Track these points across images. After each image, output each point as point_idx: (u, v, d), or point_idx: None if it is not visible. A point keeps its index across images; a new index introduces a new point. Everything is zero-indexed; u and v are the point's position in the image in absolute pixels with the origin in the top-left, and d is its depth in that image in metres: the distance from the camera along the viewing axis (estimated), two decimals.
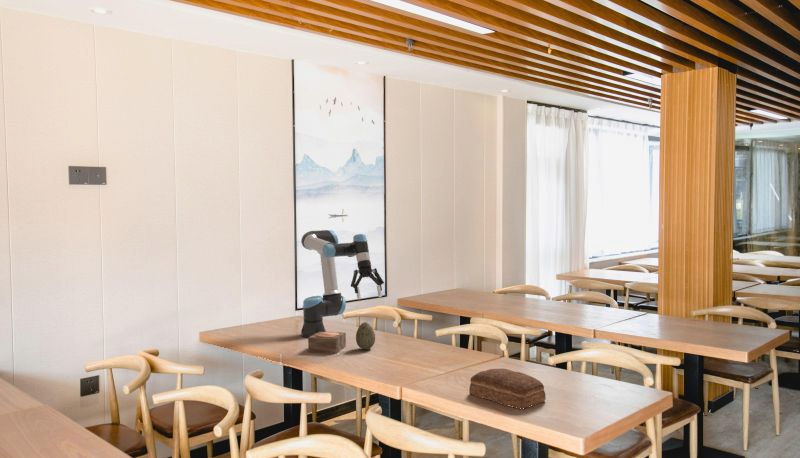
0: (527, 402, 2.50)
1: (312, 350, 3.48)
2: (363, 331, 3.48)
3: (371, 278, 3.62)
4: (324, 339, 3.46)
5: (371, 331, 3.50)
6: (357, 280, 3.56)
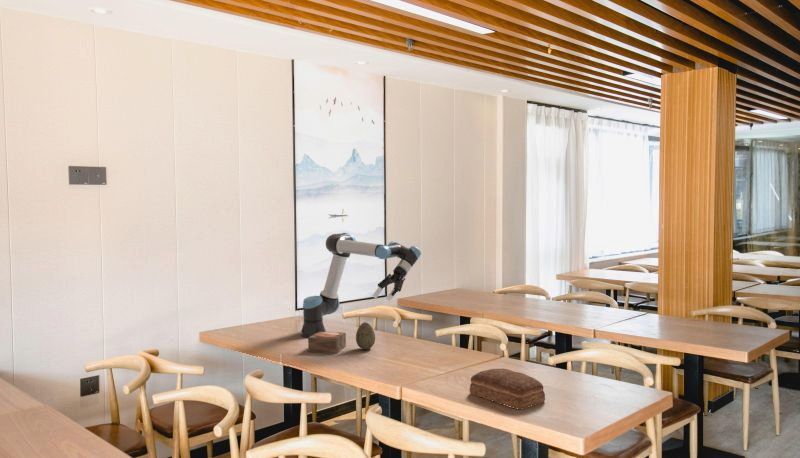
0: (525, 402, 2.50)
1: (312, 350, 3.48)
2: (363, 331, 3.48)
3: (387, 281, 3.65)
4: (324, 339, 3.46)
5: (371, 331, 3.50)
6: (397, 284, 3.57)
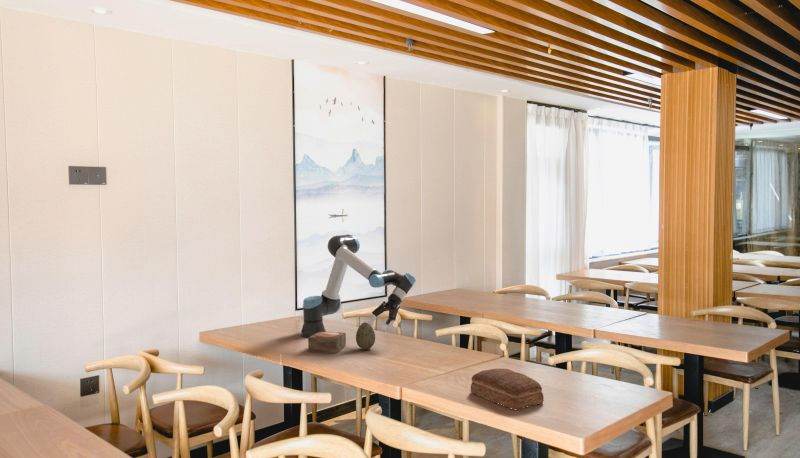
0: (521, 403, 2.49)
1: (312, 350, 3.48)
2: (363, 331, 3.48)
3: (382, 309, 3.62)
4: (324, 339, 3.46)
5: (371, 331, 3.50)
6: (391, 313, 3.54)
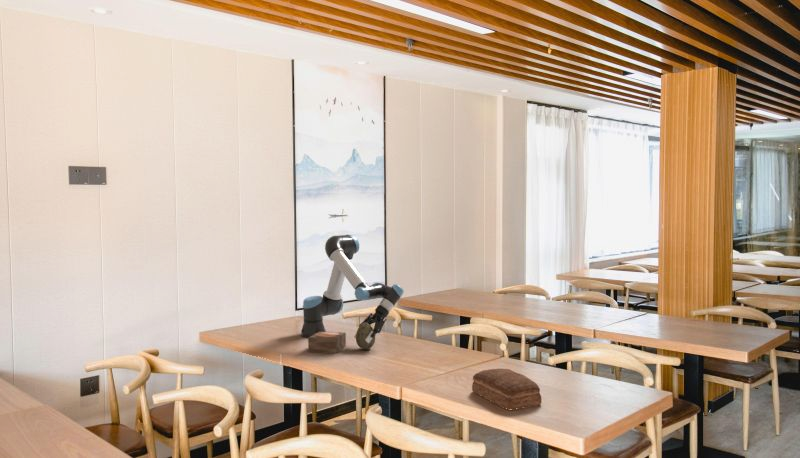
0: (516, 403, 2.49)
1: (312, 350, 3.48)
2: (363, 331, 3.48)
3: (369, 321, 3.58)
4: (324, 339, 3.46)
5: None
6: (377, 325, 3.51)
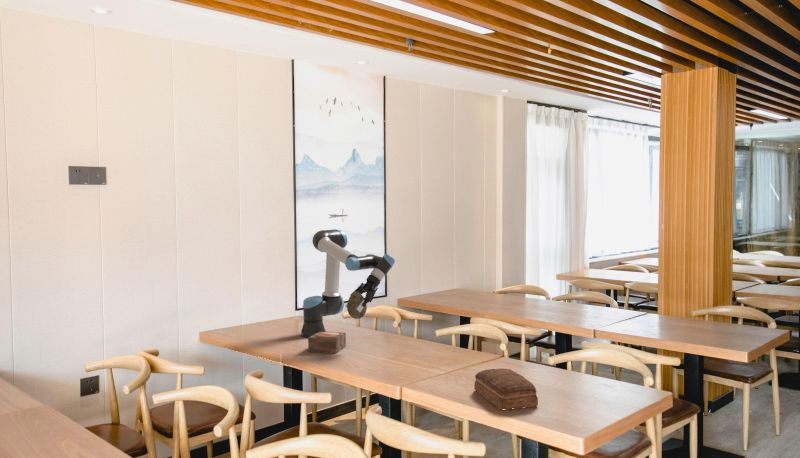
0: (509, 404, 2.48)
1: (312, 350, 3.48)
2: (354, 300, 3.47)
3: (360, 291, 3.56)
4: (324, 339, 3.46)
5: (362, 300, 3.48)
6: (368, 294, 3.49)
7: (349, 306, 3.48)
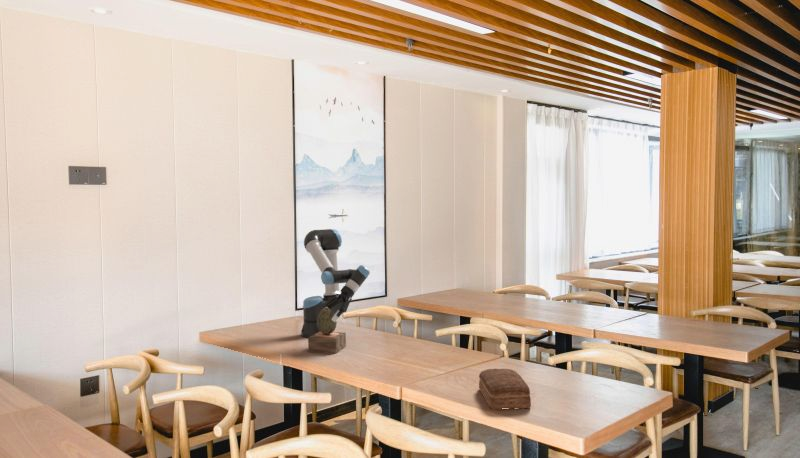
0: (499, 404, 2.49)
1: (312, 350, 3.48)
2: (323, 316, 3.49)
3: (334, 301, 3.60)
4: (324, 339, 3.46)
5: (332, 316, 3.50)
6: (343, 305, 3.52)
7: (319, 322, 3.50)
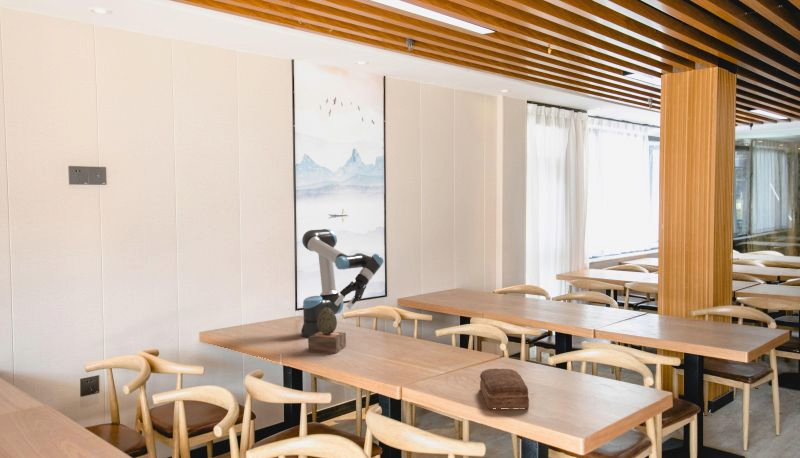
0: (497, 404, 2.49)
1: (312, 350, 3.48)
2: (324, 316, 3.49)
3: (349, 289, 3.66)
4: (324, 339, 3.46)
5: (332, 316, 3.51)
6: None
7: (319, 322, 3.50)
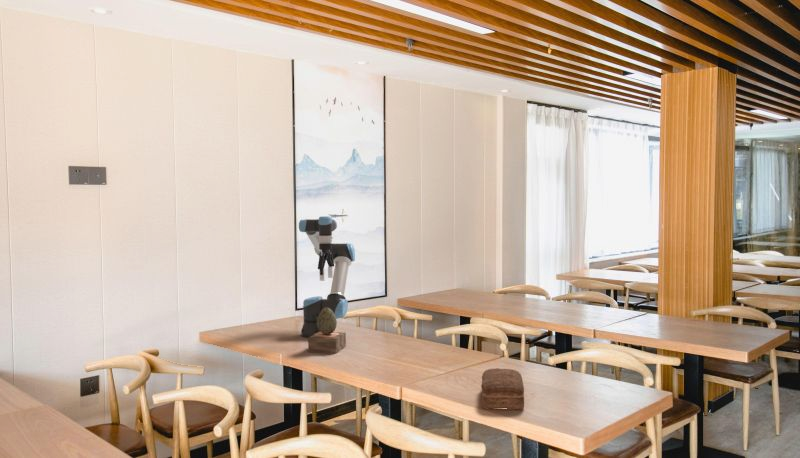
0: (491, 403, 2.49)
1: (312, 350, 3.48)
2: (324, 316, 3.49)
3: (326, 259, 3.76)
4: (324, 339, 3.46)
5: (332, 316, 3.51)
6: None
7: (319, 322, 3.50)
